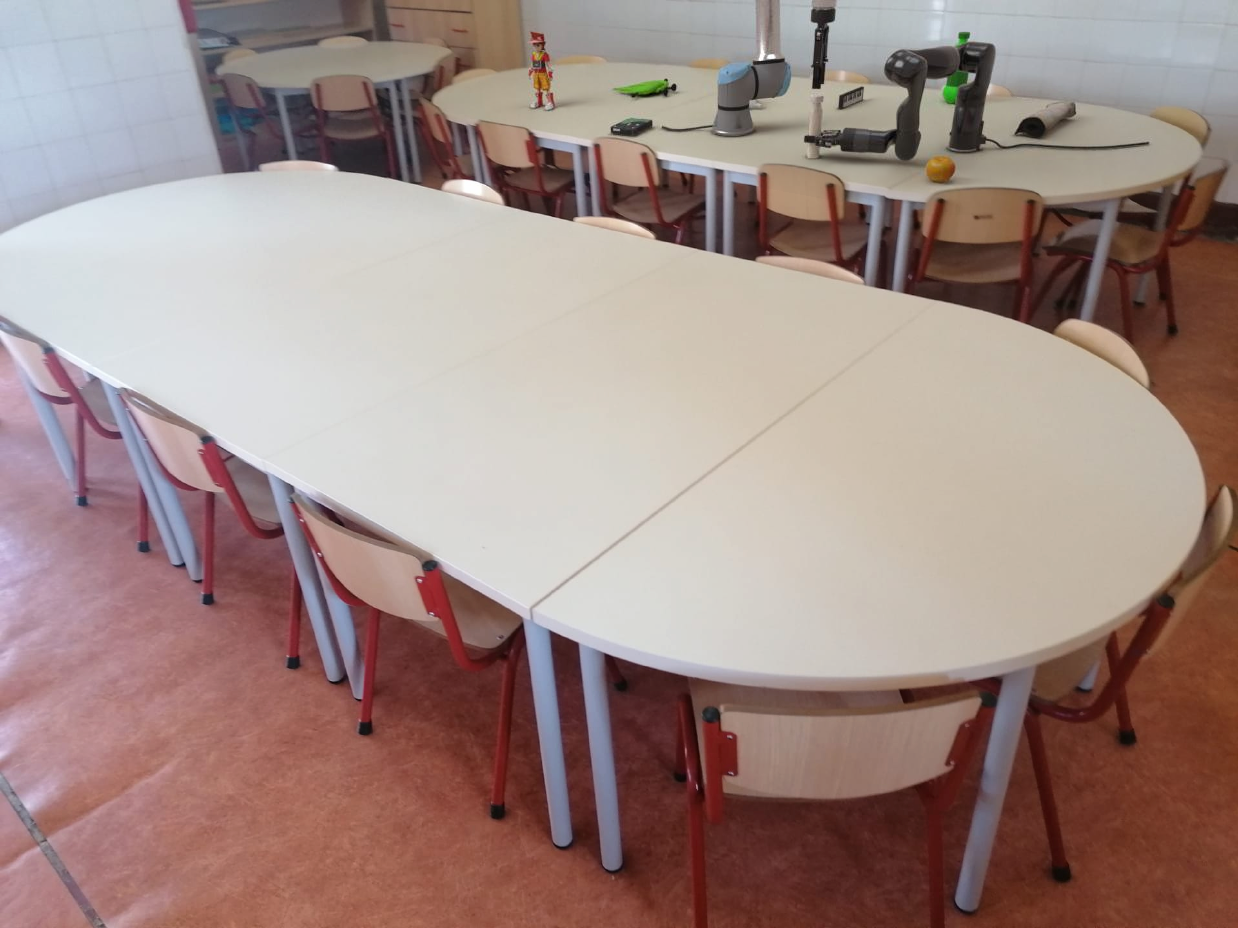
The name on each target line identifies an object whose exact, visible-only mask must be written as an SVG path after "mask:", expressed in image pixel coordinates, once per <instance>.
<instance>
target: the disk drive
mask: <svg viewBox="0 0 1238 928" xmlns="http://www.w3.org/2000/svg"><path fill="white" fill-rule="evenodd" d="M651 128H653V119H647V118H637V117H636V118H635V117H629V118H627V119H624V120H621V121H619V122H618V123H615V124H613V125H612V126H610V134H613V135H614V134H615V135H620V136H636V135H638V134H640V133H642V132H644V131H646V130H649V129H651Z"/></svg>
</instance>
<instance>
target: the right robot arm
mask: <svg viewBox="0 0 1238 928" xmlns="http://www.w3.org/2000/svg"><path fill="white" fill-rule="evenodd" d="M953 46H954V47H953ZM996 57H997V50H996V46H995V44H994V43H992V42H991V43H990V42H983V41H967V42H965V43H963V44H960V45H957V46H955V45H941V46H936V47H929V48H921V49H907V48H900V49H897V50H895V51H894V52H893V53H892V54H891V55H890V56H889V57H888V58H887V59H886V61H885V63H884V66H883V73H884V76H885V78H886V79H887V80H888V81H889V82H891V83H893V84H895V85H897V86H900V87H901V88H904V89H906V90H907V97H906V98H904V99H903V100H902V101H901V102H900V103H899V105H898V107H897V109H896V114H895V127H896V128H892V129H888V130H879V129H868V128H857V127H844V128H843V130H841V129H824V130H823V129H822V130H821V136H809V135H808V134H809V132H807V134H805V135H804V137H803V143H805V144H808V143H815V146H820V148H821V147H822V148H825V149H831V148H832V147H837V146H839V147H840V151H841V152H843V153H844V152H845V153H857V154H859V153H860V154H865V153H870V154H885V153H887V152H888V151H889V149H890V148H891V147H892V146H894V154H895V156H896V157H897V159H899V160H900V161H903V162H908V161H911V160H913V159H914V158H915V157H916V155H917V154H918V150H919V147H920V144H921V140H922V133H921V131H920V130H919V129H920V123H921V121H920V117H921V114H920V113H921V105H922V99H923V95H924V91H925V87H926V82H927V80H934V81H936V80H943V79H947V77H950V76H952V75H953V74H954V73H955V72H956V71H960V72H965V73H969V74H974V75H975V76H974V79H973V80H972V81H970V82H967V83H966V84H962V85H960V86H959V87H958V90H957V96H956V103H954V110H953V116H952V122H951V130H950V131H949V134H948V136H949V142H948V146H947V149H948V150H949V151H952V152H955V153H965V154H966V153H974V152H977V151H978V152H979V151H980V148H981V145H982V146H983V145H986V144H987V142H991V143H992V144H995V145H996V146H997V147H998V148H1000V149H1012V148H1017V147H1039V148H1054V149H1055V148H1056V149H1071V150H1072V149H1073V150H1074V149H1075V150H1096V149H1097V150H1098V149H1099V150H1100V149H1115V148H1126V147H1127V148H1128V147H1135V146H1144V145H1145V146H1146V145H1149V144H1150V141H1142V142H1135V143H1126V144H1125V143H1124V144H1115V145H1098V146H1097V145H1096V146H1083V145H1081V146H1079V145H1078V146H1076V145H1075V146H1074V145H1057V144H1056V145H1055V144H1053V145H1052V144H1043V143H1042V144H1041V143H1017V144H1013V145H1001V144H1000V143H999V142H997V141H996V140H994V139H991V138H987V136H986V135H984V134H983V130H984V125H985V120H984V119H983V118H984V112H985V105H986V100H987V94H988V91H989V87H990V85H991V79H992V76H993V75H992V74H993V70H994V66H995V61H996ZM819 140H820V142H819Z"/></svg>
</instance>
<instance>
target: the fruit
mask: <svg viewBox="0 0 1238 928" xmlns="http://www.w3.org/2000/svg"><path fill="white" fill-rule="evenodd" d="M955 173H956V163H955V162H954V161H953V159H952V158H950V157H948V156H945V155H941V156H940V155H939V156H935V157H933V158H931V159H930V160H929V161H928V162H927V163H926V166H925V175H926V177H927V178H928V179H929V180H930V181H933V182H939V183H941V182H942V183H943V182H946V181H949V180H950V179H951V178H952V177H953V176H954V175H955Z"/></svg>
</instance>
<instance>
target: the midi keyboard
mask: <svg viewBox="0 0 1238 928" xmlns="http://www.w3.org/2000/svg"><path fill="white" fill-rule="evenodd" d="M864 91H865V86H862V85H861V86H859V87H857V88H854V89H851V90H849V91H846V92H844V93H842V94H839V96H838V105H837V106H838V107H837V109H839V110H842V109H844V108H846V107H848V106H851V105H852V104H855V103H858V102H859V101H863V100H864Z"/></svg>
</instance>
